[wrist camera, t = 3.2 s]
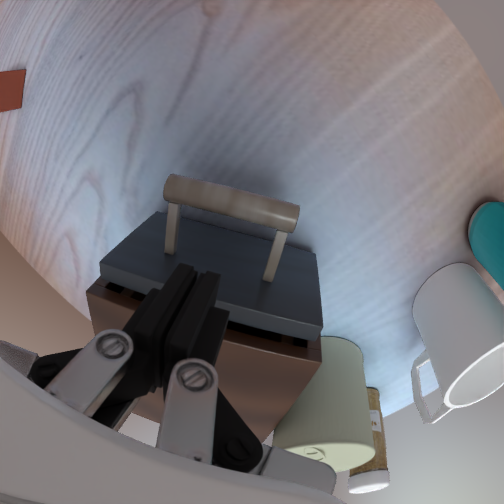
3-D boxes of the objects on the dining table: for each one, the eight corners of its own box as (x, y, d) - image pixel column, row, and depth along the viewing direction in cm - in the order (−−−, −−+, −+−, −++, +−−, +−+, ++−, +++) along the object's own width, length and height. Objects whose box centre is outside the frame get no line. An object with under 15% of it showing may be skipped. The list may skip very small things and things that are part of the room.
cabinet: (153, 223, 22) (85, 291, 14) (315, 267, 22) (322, 363, 14) (152, 339, 30) (117, 406, 21) (268, 373, 29) (256, 449, 21)
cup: (374, 343, 25) (390, 428, 17) (446, 249, 19) (505, 326, 11) (424, 359, 26) (446, 430, 17) (491, 280, 20) (538, 347, 11)
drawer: (163, 151, 18) (95, 179, 11) (337, 194, 18) (362, 247, 11) (153, 330, 27) (121, 387, 20) (269, 363, 27) (259, 429, 20)
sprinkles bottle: (365, 382, 29) (374, 484, 17) (385, 392, 29) (397, 484, 18) (337, 398, 31) (339, 493, 19) (359, 407, 31) (364, 495, 20)
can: (352, 324, 24) (369, 439, 14) (369, 375, 28) (381, 467, 17) (265, 349, 27) (248, 456, 17) (296, 393, 31) (289, 481, 20)
